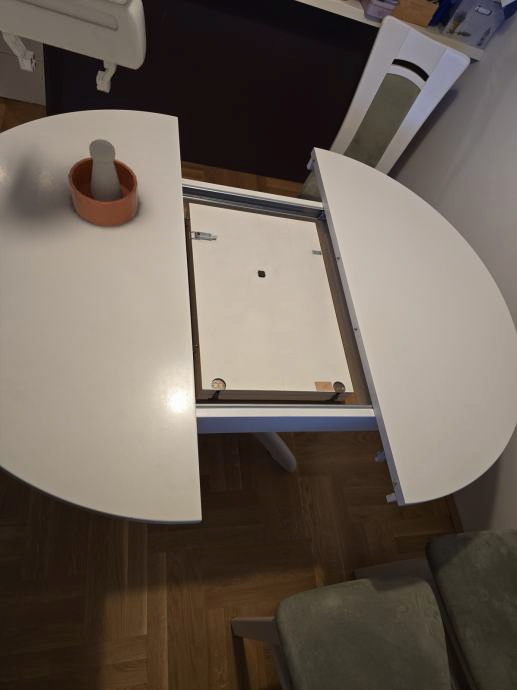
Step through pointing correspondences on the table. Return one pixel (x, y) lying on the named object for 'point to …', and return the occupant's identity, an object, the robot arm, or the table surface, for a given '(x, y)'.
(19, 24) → the robot arm
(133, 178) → the pot
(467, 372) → the table surface
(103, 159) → the grey rounded piece
